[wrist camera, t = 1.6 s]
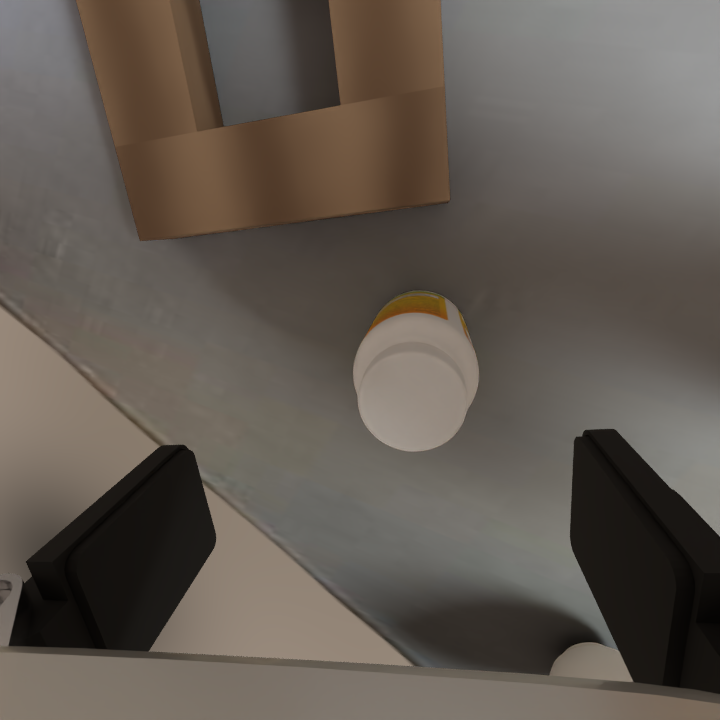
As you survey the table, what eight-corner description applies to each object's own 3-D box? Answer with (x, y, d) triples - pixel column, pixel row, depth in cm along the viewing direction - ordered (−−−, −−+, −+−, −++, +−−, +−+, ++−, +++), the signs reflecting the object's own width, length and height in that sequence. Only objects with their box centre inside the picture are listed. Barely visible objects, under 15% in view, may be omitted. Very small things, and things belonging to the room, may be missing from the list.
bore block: (426, -216, 17) (425, -305, 14) (447, 203, 21) (450, 199, 19) (89, -107, 20) (33, -161, 17) (173, 238, 24) (140, 240, 22)
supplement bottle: (354, 339, 25) (309, 407, 16) (414, 268, 23) (403, 299, 14) (422, 395, 25) (417, 494, 16) (487, 331, 23) (522, 402, 14)
